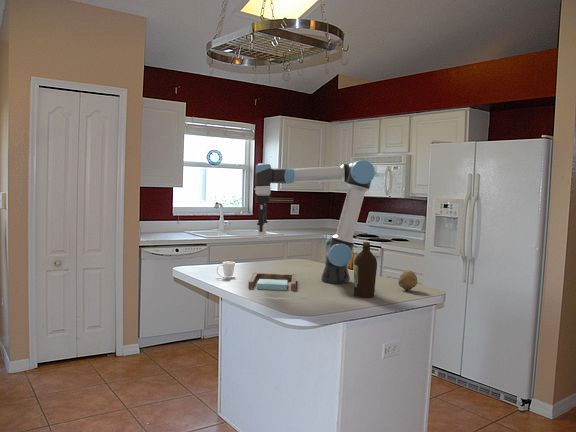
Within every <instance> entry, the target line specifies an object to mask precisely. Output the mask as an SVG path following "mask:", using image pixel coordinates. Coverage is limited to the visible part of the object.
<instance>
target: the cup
mask: <svg viewBox="0 0 576 432" xmlns="http://www.w3.org/2000/svg"><path fill="white" fill-rule="evenodd" d="M220 266H222V271H223V276H222V275H221V274H219V272H218V271H219V267H220ZM235 266H236V262H235V261H227V260H226V261H222V264H219V265H218V266H217V267H216V273H217V275H218V276H219V277H221V278H224V279H233V274H234V272H235V271H234V270H235Z"/></svg>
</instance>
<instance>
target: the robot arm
mask: <svg viewBox="0 0 576 432" xmlns="http://www.w3.org/2000/svg"><path fill="white" fill-rule="evenodd" d="M375 175H376V170H375V167H374V165H373V163H371V162H370V161H369V160H365V159H359V160H357V161H353V162H351V163H350V162H349V163H342V165H339V166H338V165H337V166H334V165H333V166H322V167H320V166H319V167H318V166H317V167H302V168H301V167H299V168H289V167H288V168H287V167H286V168H284V167H283V168H282V167H281V168H280V167H279V168H275V167H272V165H271V164H270V163H258V164H256V165H255V187H254V191H255V192H254V193H255V194H256V195H255V197H254V199H255V200H254V201H255V203H257V204H259V205H258V220H257V221H258V222H257V223H256V226H258V227H257V228H258V231H257V238H258V239H260V240H261V239H263V240H264V239H265V237H266V236H267V224H268V220H267V208H268V207H267V204H269V203H271V188H272V186H271V184H282V185H285V184H287V185H288V184H298V183H321V182H322V183H323V182H337V181H341V182H342V183H346V186H347V187H348V188H347V192H346V195H345V196H346V197H345V200H344V203H343V205H342V206H343V207H342V210H341V214H340V217H339V222H338V225H337V229H336V233H335V234H333V235H332V236H331V237H327V238H326V242H325V245H326V247H325V265H324V268H323V272H322V274H321V278H320V279H321V281H322V282H324V283H328V284H329V283H330V284H338V285H339V284H348V283H350V282H351V277H350V272H349V269H348V264H350V263H351V261H352V260H353V249H354V246H355V240H354V239H353V238H354V235H355V230H356V227H357V223H358V219H359V216H360V213H361V210H362V209H361V208H362V204H363V201H364V198H365V195H366V194H365V193H366V192H368V191H370V188H371V183H372V181H373V179H374V177H375Z"/></svg>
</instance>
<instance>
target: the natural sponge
mask: <svg viewBox="0 0 576 432" xmlns="http://www.w3.org/2000/svg"><path fill="white" fill-rule="evenodd" d="M397 282H398V286H399V287H400V288H402V289H403V290H404V291H411V290H412V289H413V288H415V287H417V285H418V282H419V281H418V277H417V275H416V274H415V272H413V271H412V270H405V271H403V272H402V273H401V275H400V277H399V279H398V281H397Z"/></svg>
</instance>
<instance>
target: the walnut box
mask: <svg viewBox="0 0 576 432" xmlns="http://www.w3.org/2000/svg"><path fill="white" fill-rule="evenodd" d="M259 279H273V280H288V283H287V290H286V291H294V292H295V291H296V283H297V274H293V273H269V272H253V274H252V275H251V276H250V279H249V280H248V287H247V289H250V290H251V289H252V290H258V289H257V283H258V280H259ZM271 290H273V289H270V291H271Z"/></svg>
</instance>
